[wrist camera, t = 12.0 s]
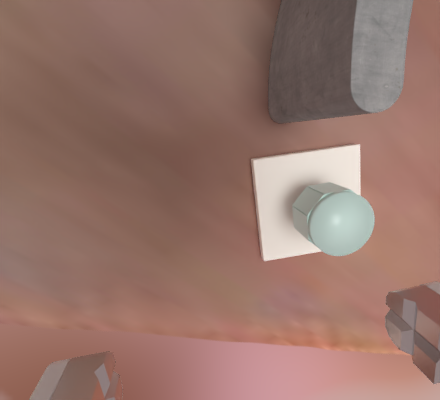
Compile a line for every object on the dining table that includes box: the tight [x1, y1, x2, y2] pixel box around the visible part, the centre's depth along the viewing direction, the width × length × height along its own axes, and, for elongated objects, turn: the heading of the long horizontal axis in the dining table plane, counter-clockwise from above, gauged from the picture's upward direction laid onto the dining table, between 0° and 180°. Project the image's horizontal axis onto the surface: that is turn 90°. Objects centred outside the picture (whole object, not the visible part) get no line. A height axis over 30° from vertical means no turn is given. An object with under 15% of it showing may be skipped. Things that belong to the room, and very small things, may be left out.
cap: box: [292, 182, 375, 256], centre depth 29 cm, size 6×6×5 cm
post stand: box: [251, 144, 360, 261], centre depth 31 cm, size 13×13×8 cm
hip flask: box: [268, 0, 413, 123], centre depth 21 cm, size 16×4×20 cm, turn 174°
